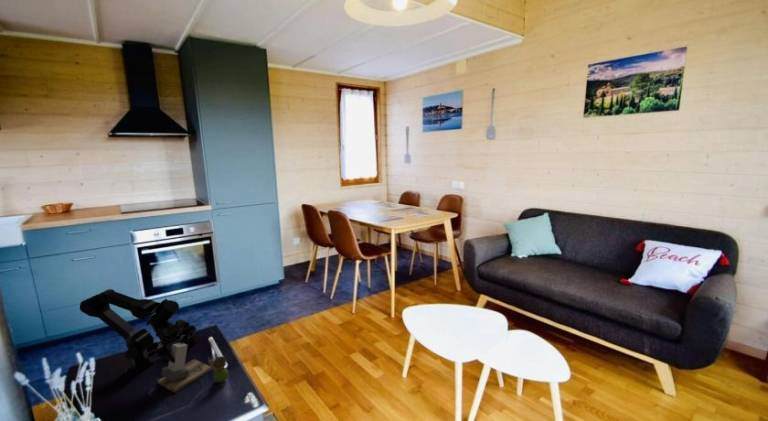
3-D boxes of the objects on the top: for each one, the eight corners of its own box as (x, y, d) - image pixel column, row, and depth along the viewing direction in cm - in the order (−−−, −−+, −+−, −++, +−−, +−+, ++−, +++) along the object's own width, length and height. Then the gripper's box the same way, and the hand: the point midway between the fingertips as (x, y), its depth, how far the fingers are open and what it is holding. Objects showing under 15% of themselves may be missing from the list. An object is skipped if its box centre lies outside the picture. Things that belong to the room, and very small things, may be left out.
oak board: (158, 383, 136) (157, 380, 135) (194, 361, 148) (194, 358, 148) (175, 393, 130) (174, 390, 129) (211, 369, 142) (211, 366, 142)
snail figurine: (209, 382, 134) (204, 355, 132) (225, 374, 139) (221, 347, 137) (214, 389, 131) (210, 361, 128) (231, 380, 135) (227, 353, 133)
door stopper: (180, 351, 156) (175, 327, 153) (173, 347, 159) (168, 324, 157) (199, 341, 163) (195, 318, 161) (192, 338, 167) (188, 315, 164)
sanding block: (161, 374, 136) (166, 343, 137) (176, 370, 141) (181, 340, 142) (172, 381, 132) (178, 349, 133) (187, 376, 137) (192, 345, 138)
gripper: (140, 327, 128) (161, 362, 124) (190, 306, 144) (209, 337, 140) (134, 341, 134) (154, 375, 130) (183, 320, 149) (201, 349, 146)
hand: (181, 358), depth 136 cm, fingers closed on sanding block, 5 cm apart
